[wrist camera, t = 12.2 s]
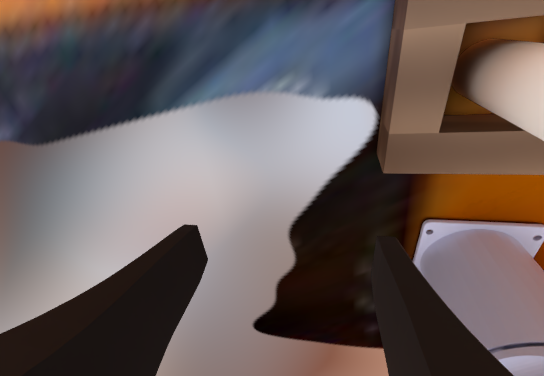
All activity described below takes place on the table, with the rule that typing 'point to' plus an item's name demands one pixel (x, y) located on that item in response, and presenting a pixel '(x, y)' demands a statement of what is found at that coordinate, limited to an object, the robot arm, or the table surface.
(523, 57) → the peg
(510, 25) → the table surface
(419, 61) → the brown square frame
